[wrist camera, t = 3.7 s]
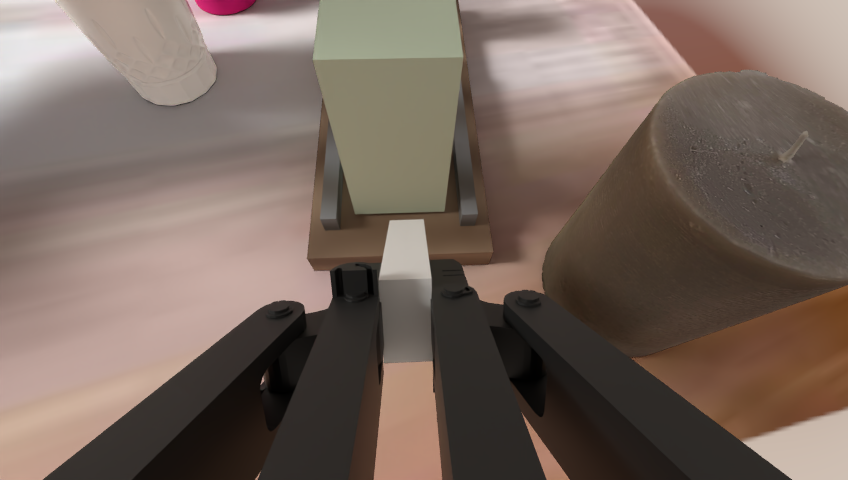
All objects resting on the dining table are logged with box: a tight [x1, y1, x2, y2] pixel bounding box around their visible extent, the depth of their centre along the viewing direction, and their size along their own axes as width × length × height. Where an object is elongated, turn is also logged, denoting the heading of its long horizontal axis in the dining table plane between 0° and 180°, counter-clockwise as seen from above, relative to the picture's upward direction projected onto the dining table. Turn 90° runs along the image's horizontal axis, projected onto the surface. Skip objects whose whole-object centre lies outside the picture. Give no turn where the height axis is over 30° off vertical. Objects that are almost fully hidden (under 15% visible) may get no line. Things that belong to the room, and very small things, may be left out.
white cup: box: [54, 0, 217, 106], centre depth 30 cm, size 8×8×10 cm
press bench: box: [307, 0, 493, 271], centre depth 29 cm, size 28×12×10 cm, turn 3°
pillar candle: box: [542, 70, 848, 357], centre depth 20 cm, size 10×10×15 cm
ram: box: [313, 0, 463, 214], centre depth 22 cm, size 5×7×12 cm
